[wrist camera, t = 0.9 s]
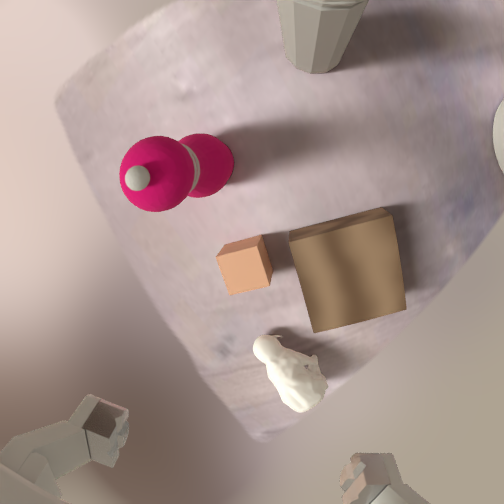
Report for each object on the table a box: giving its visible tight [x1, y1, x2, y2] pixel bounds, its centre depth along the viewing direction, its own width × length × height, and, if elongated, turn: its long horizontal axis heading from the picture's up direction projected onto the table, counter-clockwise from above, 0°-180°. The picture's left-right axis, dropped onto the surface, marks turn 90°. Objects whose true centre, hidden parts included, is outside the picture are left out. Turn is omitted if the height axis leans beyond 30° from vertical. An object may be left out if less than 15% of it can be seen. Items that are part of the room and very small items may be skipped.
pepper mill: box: [119, 134, 234, 212], centre depth 29 cm, size 7×7×20 cm
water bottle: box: [277, 0, 369, 74], centre depth 21 cm, size 9×8×25 cm
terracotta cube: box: [216, 235, 273, 295], centre depth 40 cm, size 5×5×5 cm
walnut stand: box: [288, 207, 406, 333], centre depth 38 cm, size 12×12×5 cm
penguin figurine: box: [253, 335, 328, 413], centre depth 42 cm, size 6×8×12 cm
